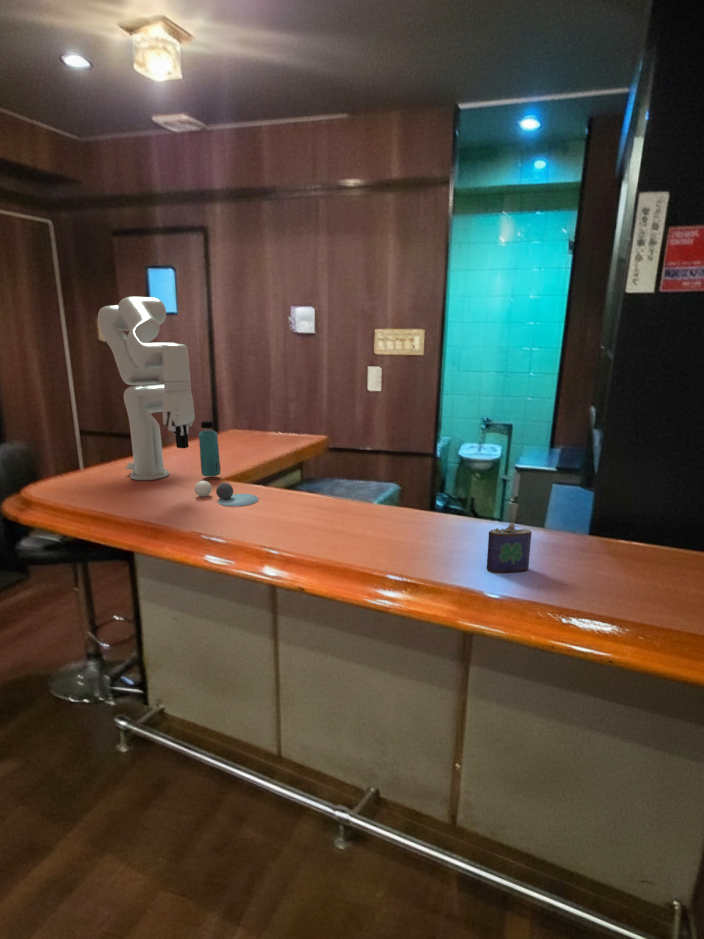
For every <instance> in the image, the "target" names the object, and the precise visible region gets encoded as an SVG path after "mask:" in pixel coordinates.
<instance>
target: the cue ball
mask: <svg viewBox="0 0 704 939" xmlns="http://www.w3.org/2000/svg"><path fill="white" fill-rule="evenodd" d="M212 490H213V488H212V485H211V483H210V482H209V481H207V480H200V481H198V482H197V483H196V484H195V486H194V492H195V493H196V495H197V496H199V497H202V498H204V497H208V496H209V495H210V494H211V493H212Z"/></svg>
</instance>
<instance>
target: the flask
mask: <svg viewBox="0 0 704 939" xmlns="http://www.w3.org/2000/svg"><path fill="white" fill-rule="evenodd" d="M516 527H517V525H515V523H514V522H510V523H509V526H507V527H506V528H501V529H499V528H498V527H497V528H495V529H491V530H489V531H488V540H487V541H488V542H487V543H488V544H487V554H486V558H487V559H486V571H487V572H488V573H492V574H509V573H514V574H515V573H524V572H527V571H529V568H530V567H529V566H530V556H531V554H530V552H531V543H532V542H531V541H532V530H531V529H528V528H520V529H516Z"/></svg>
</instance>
